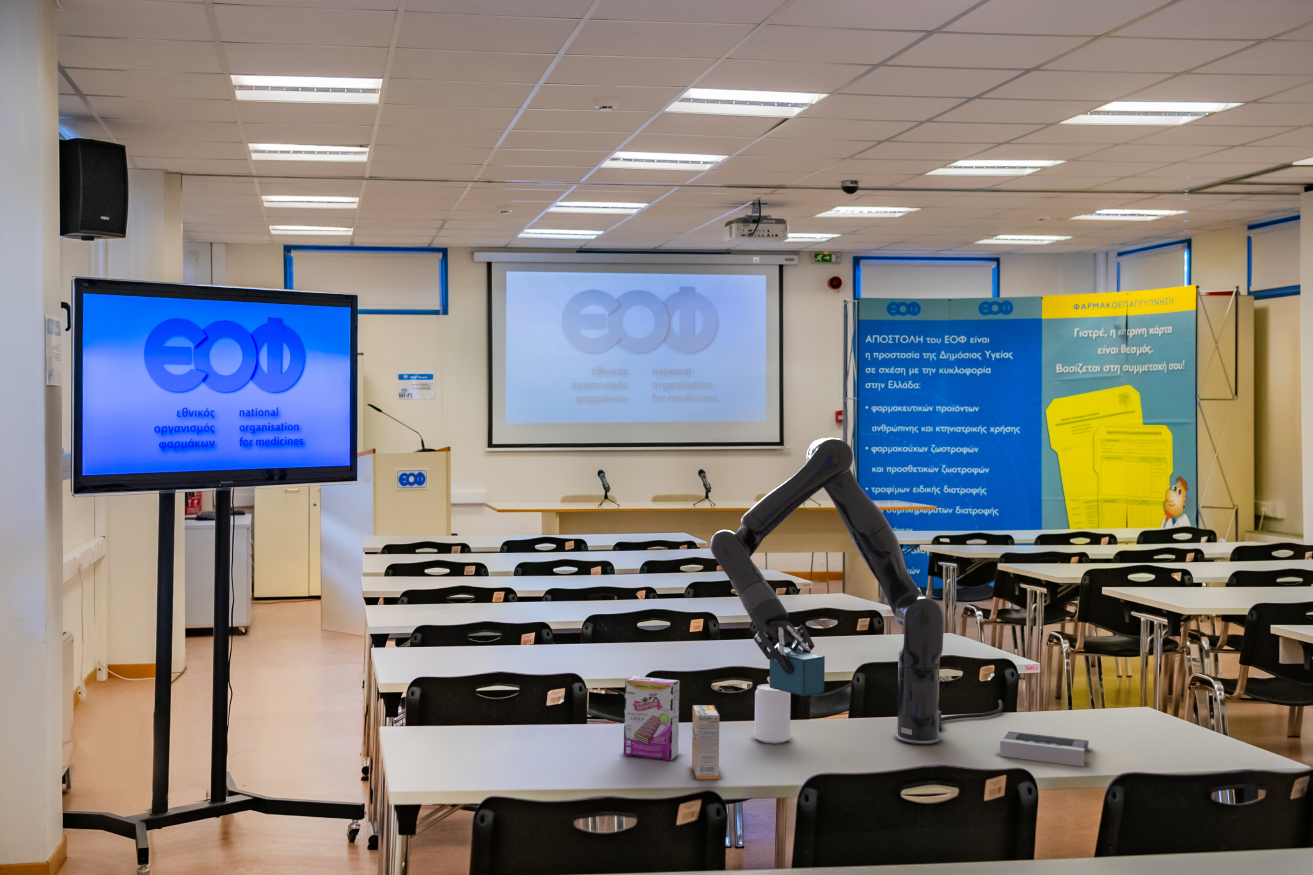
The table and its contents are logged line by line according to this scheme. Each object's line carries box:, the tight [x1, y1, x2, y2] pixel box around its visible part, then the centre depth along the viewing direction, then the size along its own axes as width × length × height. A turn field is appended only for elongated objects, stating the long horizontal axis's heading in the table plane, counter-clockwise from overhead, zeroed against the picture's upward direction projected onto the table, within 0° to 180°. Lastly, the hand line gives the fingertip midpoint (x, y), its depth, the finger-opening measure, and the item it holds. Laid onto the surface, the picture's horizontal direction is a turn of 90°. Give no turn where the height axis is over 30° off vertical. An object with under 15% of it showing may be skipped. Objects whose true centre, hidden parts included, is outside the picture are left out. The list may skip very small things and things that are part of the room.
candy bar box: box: [623, 675, 681, 761], centre depth 237 cm, size 11×5×16 cm, turn 71°
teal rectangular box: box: [769, 648, 826, 697], centre depth 231 cm, size 10×6×8 cm, turn 39°
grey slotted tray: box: [999, 730, 1090, 767], centre depth 244 cm, size 17×5×16 cm
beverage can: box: [753, 683, 792, 744], centre depth 251 cm, size 8×8×12 cm
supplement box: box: [691, 704, 720, 780], centre depth 224 cm, size 8×5×13 cm, turn 5°
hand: (802, 670), depth 230 cm, fingers closed on teal rectangular box, 6 cm apart
